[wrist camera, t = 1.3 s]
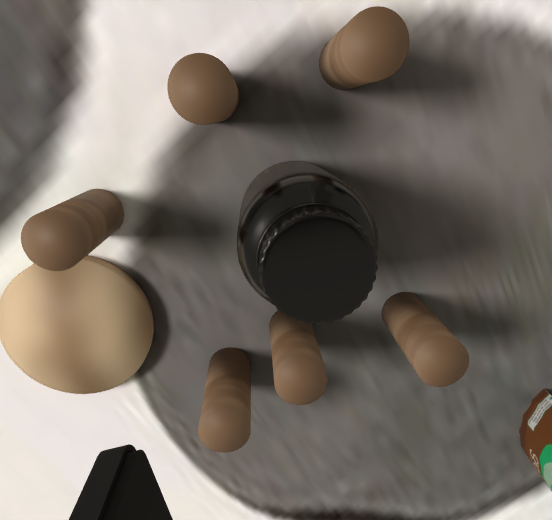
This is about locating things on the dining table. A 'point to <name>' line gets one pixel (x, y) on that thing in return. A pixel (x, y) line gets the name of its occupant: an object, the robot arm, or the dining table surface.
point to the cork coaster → (76, 326)
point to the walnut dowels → (283, 330)
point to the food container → (539, 434)
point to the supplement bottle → (307, 242)
